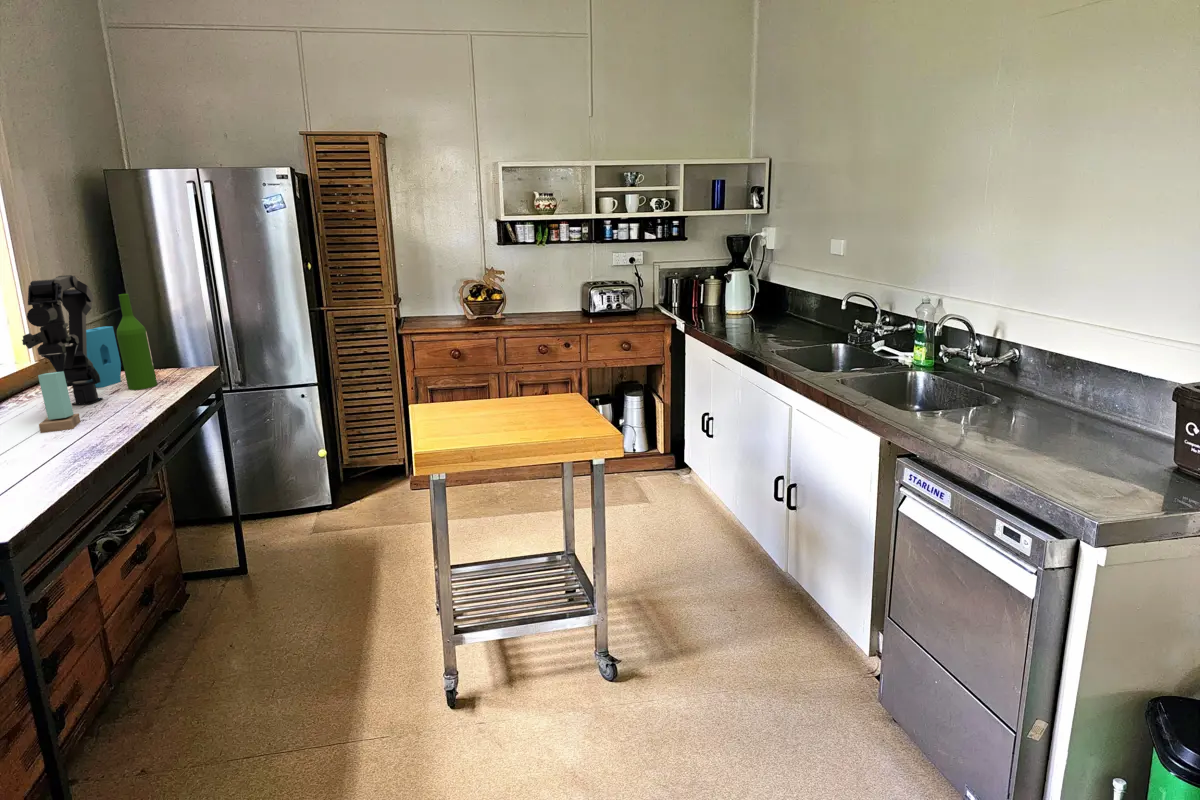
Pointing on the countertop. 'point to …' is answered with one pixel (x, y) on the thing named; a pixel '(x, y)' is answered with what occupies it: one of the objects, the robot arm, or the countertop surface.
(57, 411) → the teal block
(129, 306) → the wine bottle
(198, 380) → the countertop surface
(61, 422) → the walnut slab
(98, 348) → the block
